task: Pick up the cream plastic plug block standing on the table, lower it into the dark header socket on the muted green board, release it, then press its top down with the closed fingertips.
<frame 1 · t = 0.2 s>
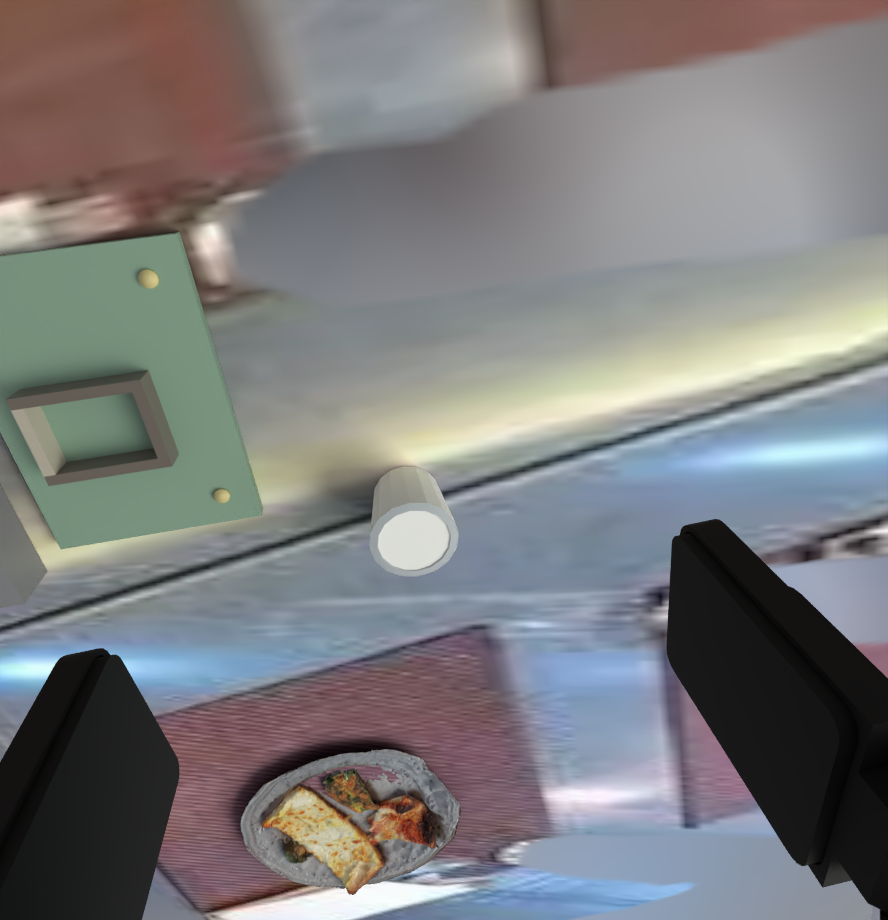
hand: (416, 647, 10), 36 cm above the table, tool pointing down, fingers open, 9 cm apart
food plate: (354, 807, 71), on the table
socket: (107, 417, 44), resting on board
gray cup: (406, 493, 51), on the table
board: (116, 403, 44), on the table
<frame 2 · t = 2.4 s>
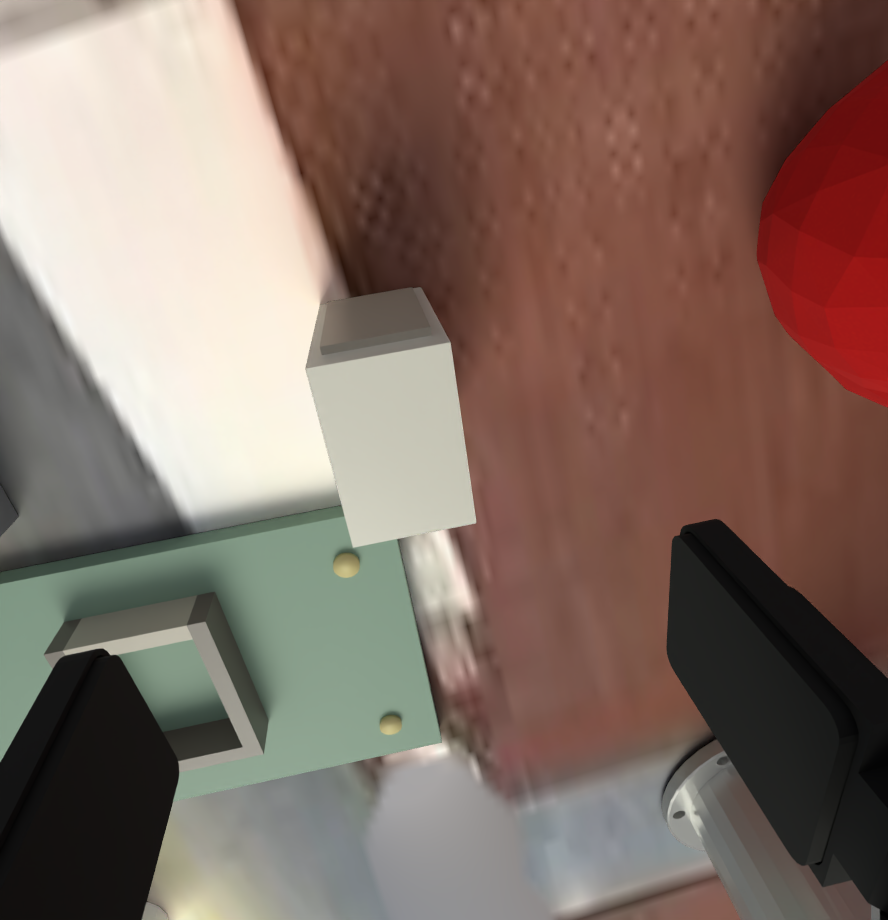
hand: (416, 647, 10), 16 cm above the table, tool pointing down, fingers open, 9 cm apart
socket: (179, 659, 30), resting on board
tomato: (827, 214, 24), on the table
plug: (385, 368, 25), on the table
gray cup: (124, 919, 39), on the table
board: (206, 669, 30), on the table
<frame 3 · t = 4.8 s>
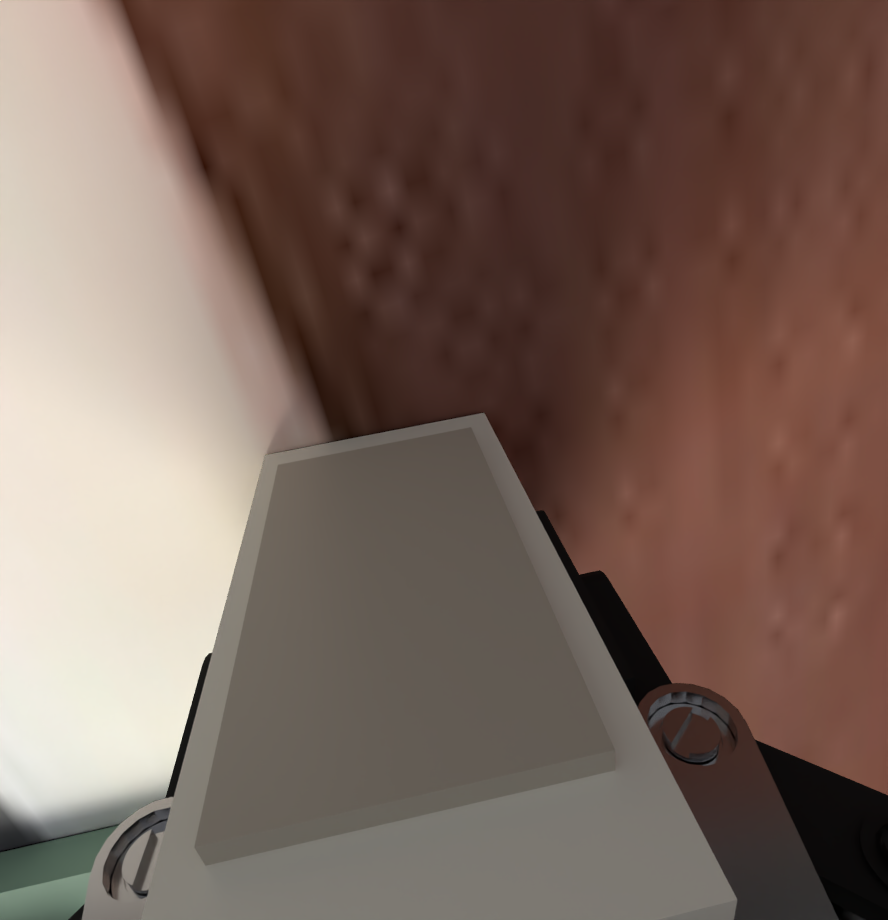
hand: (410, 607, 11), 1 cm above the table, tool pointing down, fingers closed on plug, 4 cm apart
plug: (404, 564, 12), on the table, touching gripper
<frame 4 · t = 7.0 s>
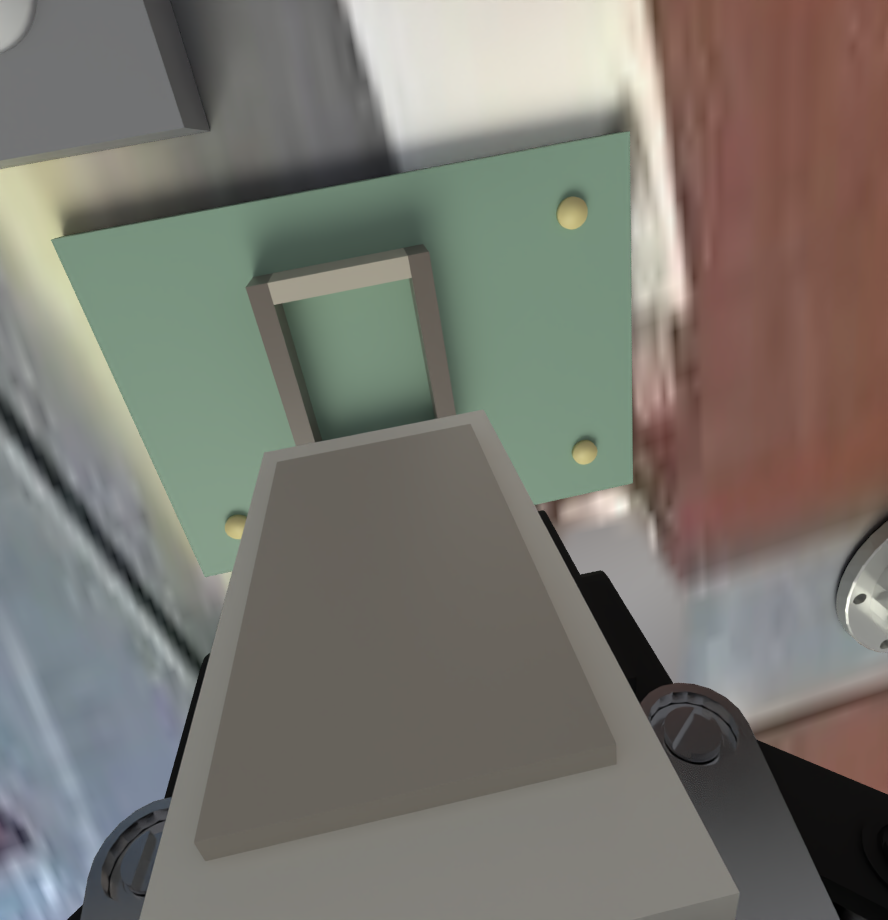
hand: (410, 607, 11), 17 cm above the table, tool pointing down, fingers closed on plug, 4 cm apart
socket: (362, 358, 26), resting on board
plug: (404, 561, 12), point 16 cm above the table, touching gripper
board: (389, 374, 27), on the table
when the fingers open (3 cm above the table, at t = 9.5 s): plug drops 1 cm, resting on board.
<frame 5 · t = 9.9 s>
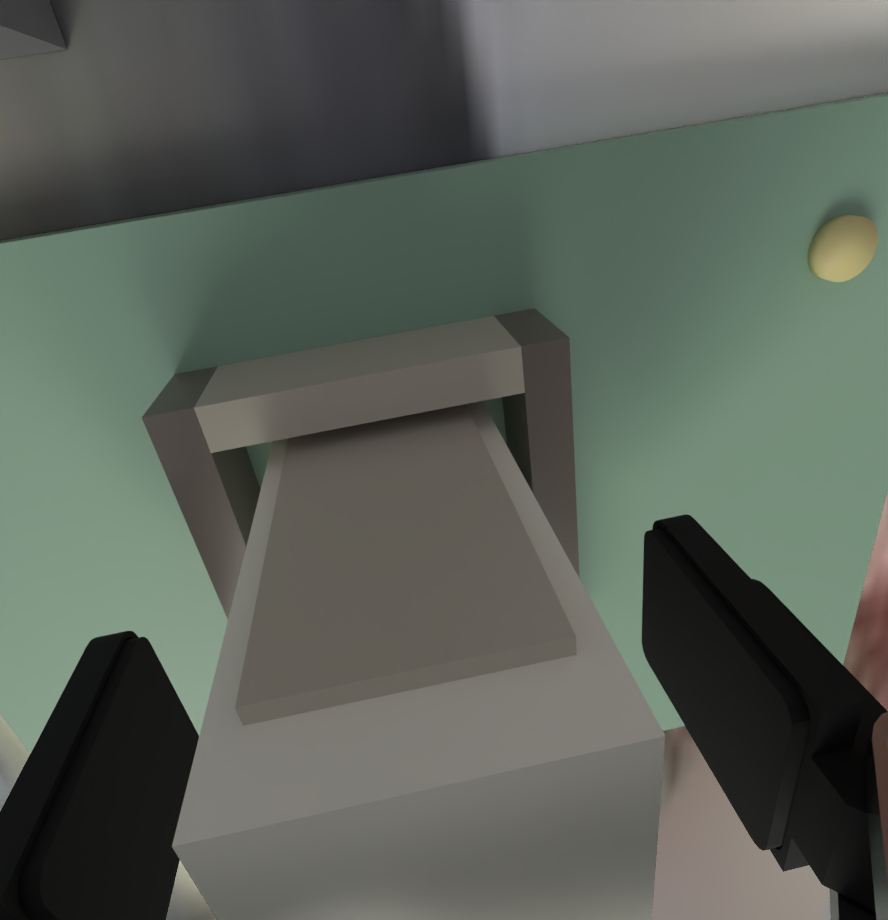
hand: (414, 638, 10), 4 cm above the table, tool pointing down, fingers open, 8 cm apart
socket: (396, 507, 14), resting on board
plug: (402, 530, 13), point 1 cm above the table, touching board
board: (443, 533, 15), on the table
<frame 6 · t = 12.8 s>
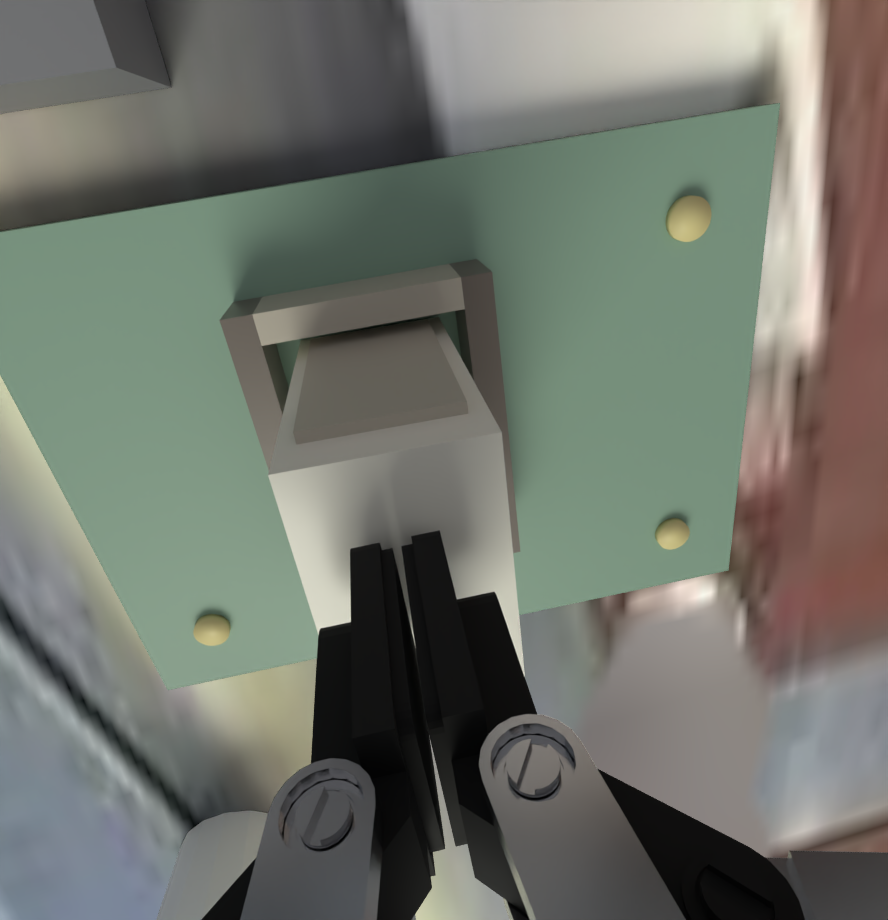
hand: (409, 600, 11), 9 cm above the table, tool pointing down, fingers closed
socket: (384, 410, 19), resting on board
plug: (388, 422, 18), point 1 cm above the table, touching board
gray cup: (243, 842, 29), on the table
board: (419, 432, 20), on the table
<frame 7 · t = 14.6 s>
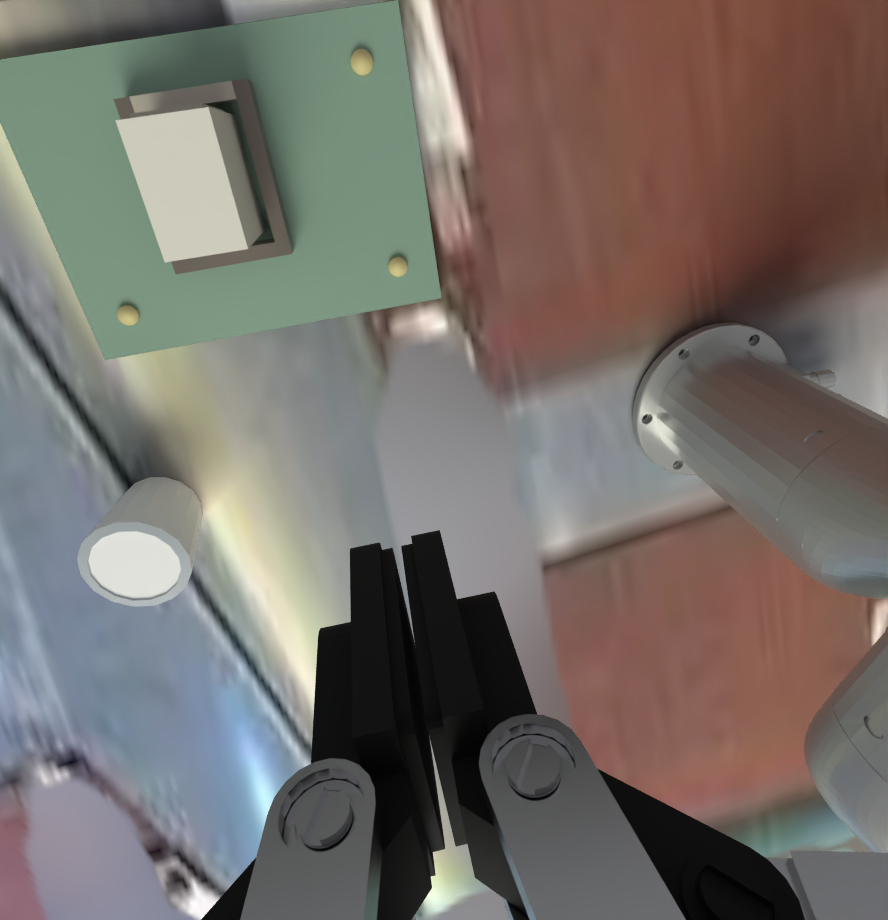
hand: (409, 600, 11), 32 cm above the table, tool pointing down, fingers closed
socket: (218, 179, 35), resting on board
plug: (216, 180, 34), point 1 cm above the table, touching board
gray cup: (163, 507, 45), on the table
board: (240, 194, 36), on the table
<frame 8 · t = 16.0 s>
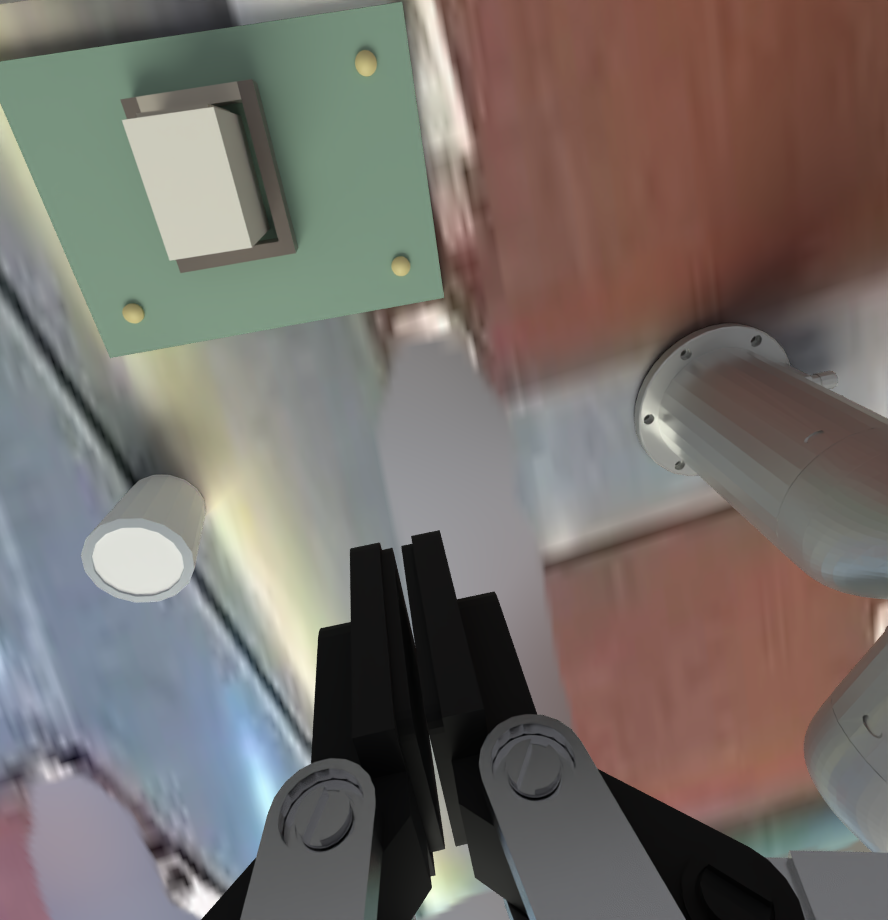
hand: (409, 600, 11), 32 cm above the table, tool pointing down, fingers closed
socket: (223, 179, 36), resting on board
plug: (221, 179, 35), point 1 cm above the table, touching board
gray cup: (167, 505, 45), on the table
board: (245, 194, 36), on the table
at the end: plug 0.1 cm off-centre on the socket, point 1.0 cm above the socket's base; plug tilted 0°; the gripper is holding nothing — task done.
